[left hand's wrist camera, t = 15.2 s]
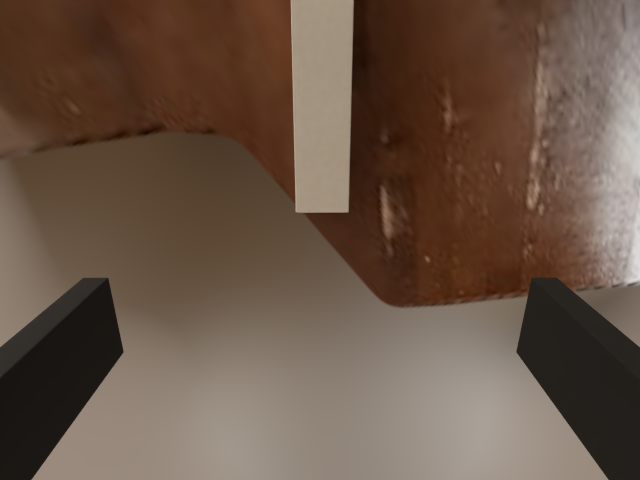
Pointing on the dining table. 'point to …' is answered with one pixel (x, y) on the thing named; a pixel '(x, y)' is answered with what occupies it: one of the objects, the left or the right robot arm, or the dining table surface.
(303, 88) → the post
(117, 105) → the dining table surface
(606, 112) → the dining table surface
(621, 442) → the left robot arm
